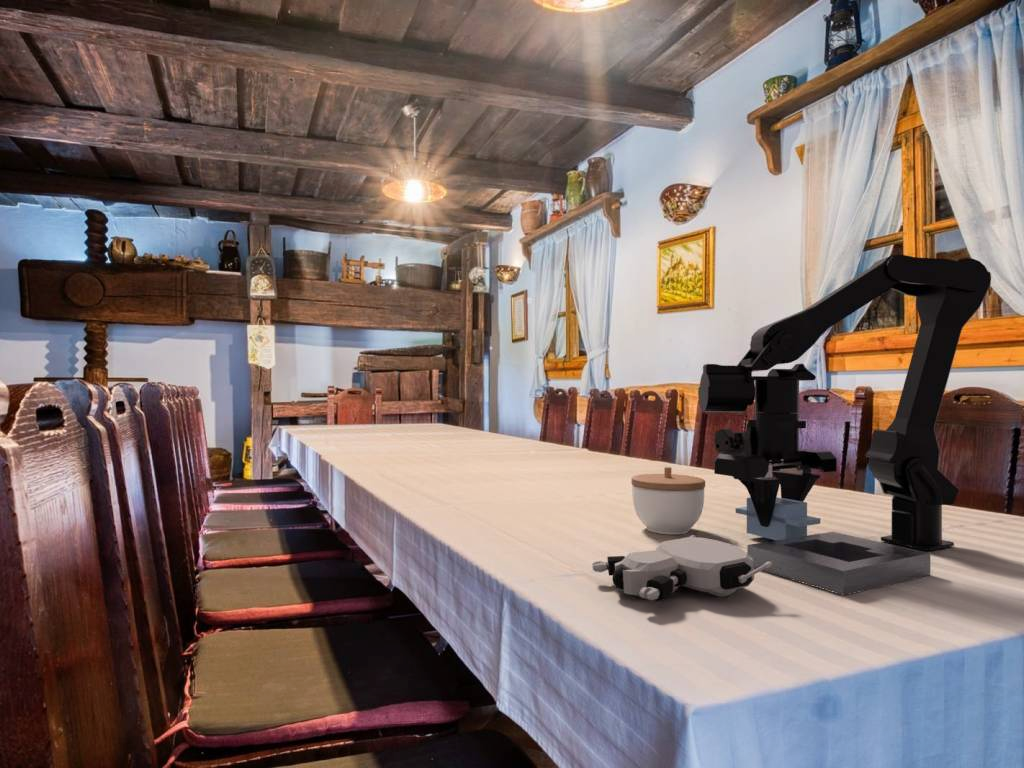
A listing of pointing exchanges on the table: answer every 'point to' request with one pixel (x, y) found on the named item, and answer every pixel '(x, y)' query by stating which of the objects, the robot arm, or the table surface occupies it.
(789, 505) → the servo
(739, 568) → the robot toy
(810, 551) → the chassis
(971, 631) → the table surface
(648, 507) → the lidded jar
